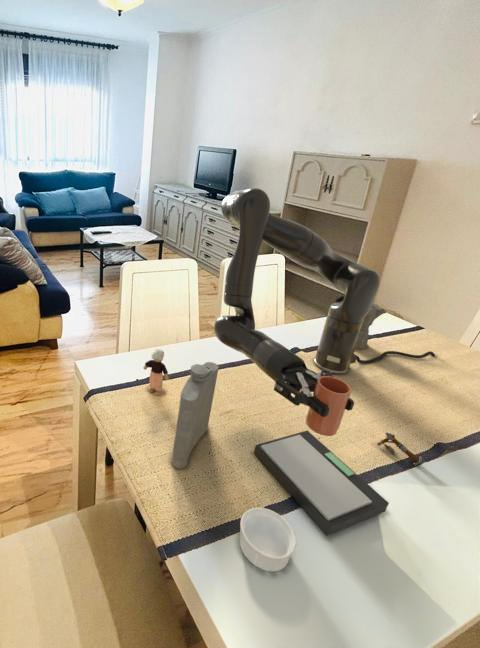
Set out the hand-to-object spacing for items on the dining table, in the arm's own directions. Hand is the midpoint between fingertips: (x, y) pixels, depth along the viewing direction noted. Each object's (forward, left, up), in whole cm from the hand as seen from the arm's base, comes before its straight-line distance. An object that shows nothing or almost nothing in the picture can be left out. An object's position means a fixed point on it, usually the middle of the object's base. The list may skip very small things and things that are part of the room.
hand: (339, 409), depth 73 cm
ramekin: (+21, +8, -18) cm, 29 cm away
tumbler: (0, -2, -6) cm, 6 cm away
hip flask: (+21, -17, -18) cm, 32 cm away
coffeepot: (-59, -42, -18) cm, 75 cm away
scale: (+1, 0, -18) cm, 18 cm away
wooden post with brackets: (-23, +1, -18) cm, 29 cm away
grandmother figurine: (+20, -37, -18) cm, 46 cm away
